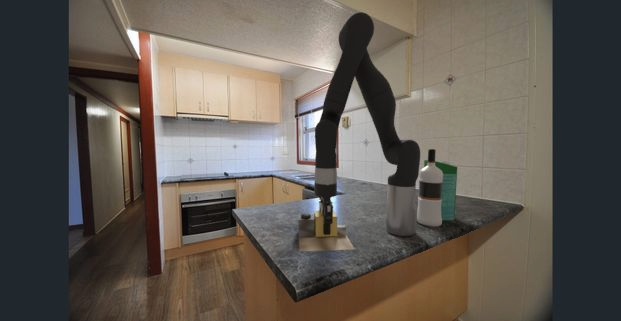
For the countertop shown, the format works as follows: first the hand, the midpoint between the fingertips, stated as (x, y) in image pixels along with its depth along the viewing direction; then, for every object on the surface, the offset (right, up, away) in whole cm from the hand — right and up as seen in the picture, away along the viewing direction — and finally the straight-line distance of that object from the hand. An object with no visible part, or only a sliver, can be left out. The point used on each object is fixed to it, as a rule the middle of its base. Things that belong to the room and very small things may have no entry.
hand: (325, 229), depth 70 cm
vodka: (+43, -2, +14) cm, 45 cm away
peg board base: (-1, -3, -3) cm, 4 cm away
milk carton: (+51, -2, +22) cm, 56 cm away
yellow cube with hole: (0, -1, 0) cm, 1 cm away
